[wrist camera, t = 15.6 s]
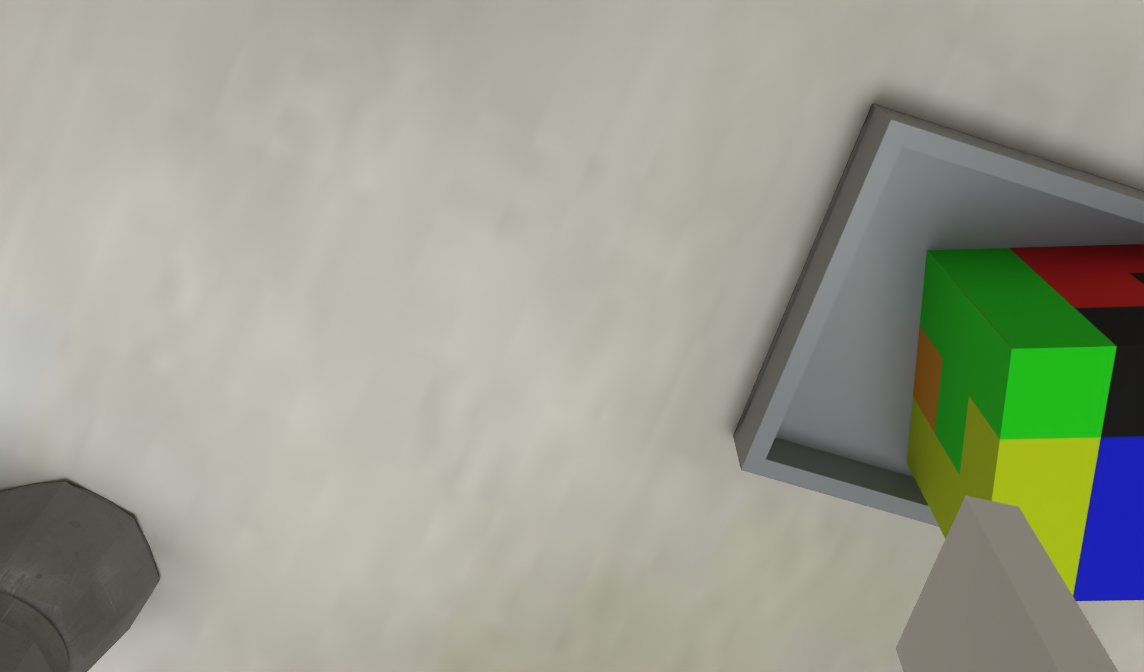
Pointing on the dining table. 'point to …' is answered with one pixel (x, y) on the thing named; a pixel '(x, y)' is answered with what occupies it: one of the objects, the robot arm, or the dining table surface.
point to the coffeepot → (67, 577)
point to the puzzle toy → (1038, 401)
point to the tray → (899, 297)
